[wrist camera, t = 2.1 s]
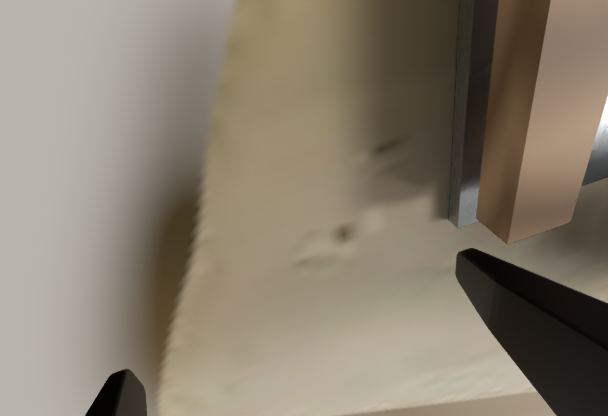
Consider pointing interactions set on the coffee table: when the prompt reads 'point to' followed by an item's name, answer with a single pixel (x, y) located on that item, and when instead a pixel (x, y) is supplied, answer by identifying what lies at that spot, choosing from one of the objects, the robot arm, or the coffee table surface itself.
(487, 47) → the chassis lid
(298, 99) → the coffee table surface
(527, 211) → the bar
